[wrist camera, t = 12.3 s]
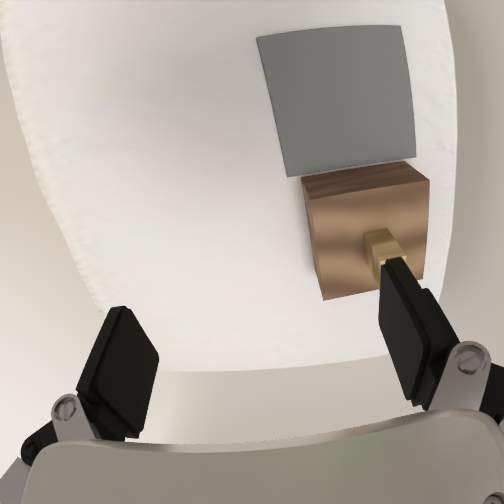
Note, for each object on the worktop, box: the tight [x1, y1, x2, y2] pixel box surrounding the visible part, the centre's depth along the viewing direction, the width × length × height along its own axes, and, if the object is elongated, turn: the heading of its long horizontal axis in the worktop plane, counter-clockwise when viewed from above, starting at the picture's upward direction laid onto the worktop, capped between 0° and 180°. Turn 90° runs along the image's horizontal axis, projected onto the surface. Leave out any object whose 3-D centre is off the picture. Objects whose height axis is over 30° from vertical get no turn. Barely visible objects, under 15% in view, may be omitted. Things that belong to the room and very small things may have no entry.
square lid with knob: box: [301, 161, 430, 301], centre depth 37 cm, size 15×15×13 cm
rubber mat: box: [256, 25, 416, 177], centre depth 34 cm, size 18×18×1 cm
